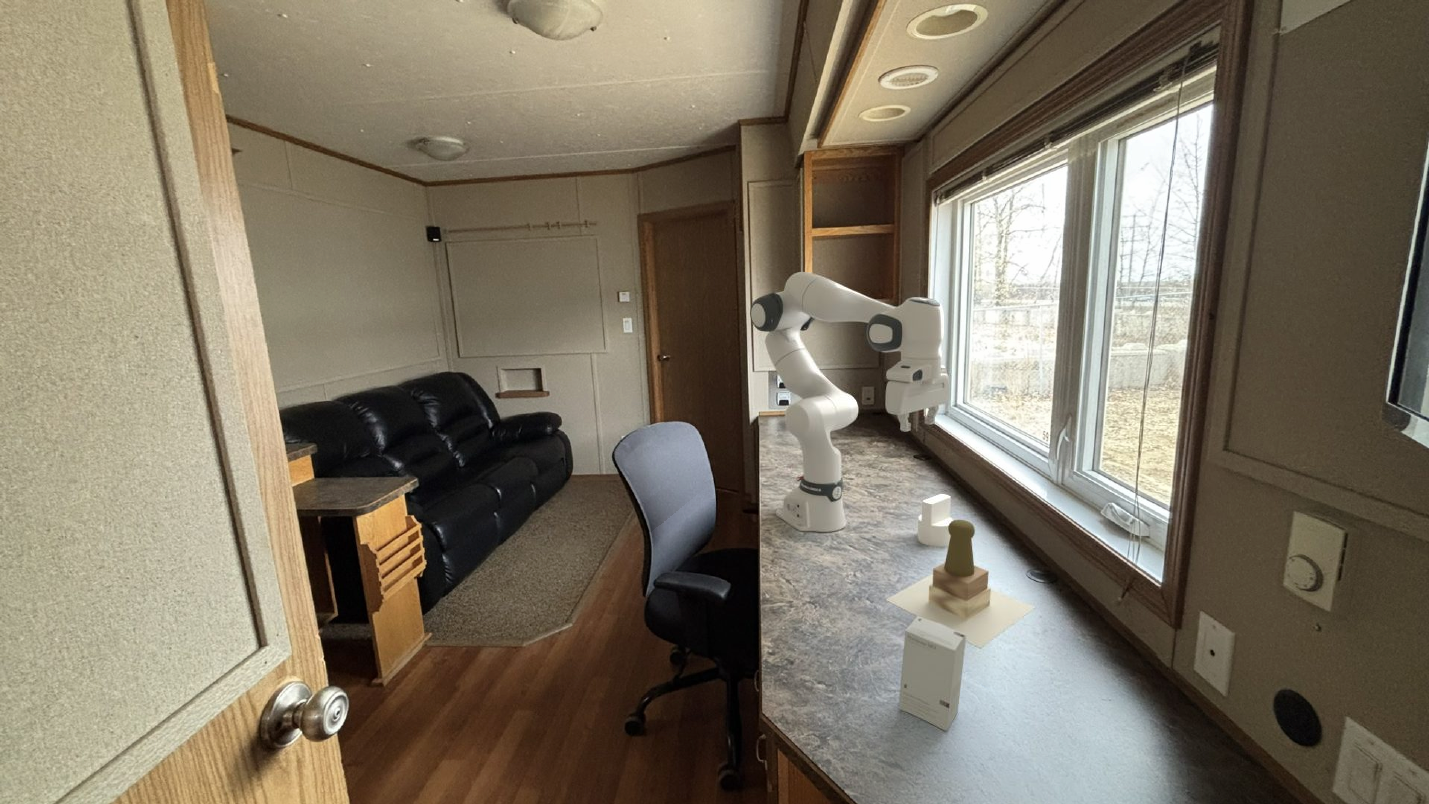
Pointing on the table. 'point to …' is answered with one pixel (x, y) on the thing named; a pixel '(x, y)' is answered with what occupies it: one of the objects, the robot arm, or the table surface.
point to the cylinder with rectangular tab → (935, 521)
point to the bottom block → (959, 602)
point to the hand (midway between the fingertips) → (917, 427)
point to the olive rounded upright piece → (960, 549)
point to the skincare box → (932, 672)
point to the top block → (961, 582)
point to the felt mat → (976, 628)
